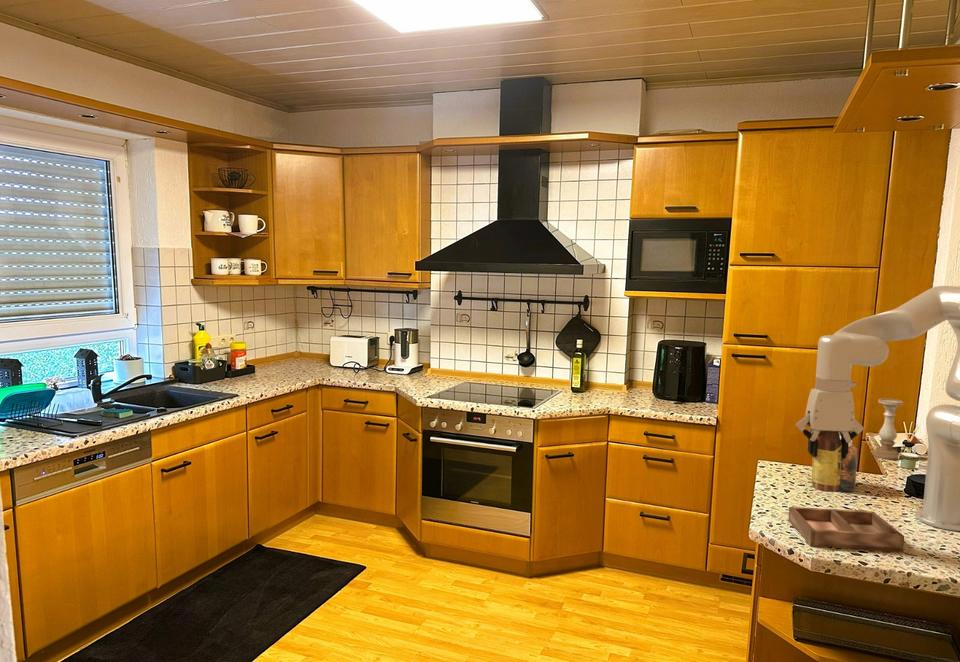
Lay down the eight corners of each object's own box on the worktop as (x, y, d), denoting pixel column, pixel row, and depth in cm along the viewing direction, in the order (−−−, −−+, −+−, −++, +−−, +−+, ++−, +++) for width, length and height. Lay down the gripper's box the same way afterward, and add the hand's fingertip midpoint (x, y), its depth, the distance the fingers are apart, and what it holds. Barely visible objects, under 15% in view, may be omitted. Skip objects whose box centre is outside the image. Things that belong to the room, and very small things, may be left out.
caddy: (872, 526, 166) (873, 511, 165) (902, 552, 151) (904, 536, 150) (788, 521, 168) (789, 506, 168) (809, 546, 153) (811, 530, 153)
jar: (813, 488, 193) (816, 441, 191) (809, 477, 203) (812, 431, 202) (857, 494, 188) (861, 445, 187) (851, 482, 199) (855, 435, 197)
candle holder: (867, 451, 232) (872, 397, 229) (894, 453, 230) (899, 398, 228) (877, 458, 223) (882, 402, 221) (905, 460, 221) (910, 404, 219)
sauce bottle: (843, 494, 155) (848, 415, 153) (815, 492, 156) (820, 413, 154) (833, 485, 161) (839, 409, 159) (807, 483, 163) (812, 407, 160)
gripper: (862, 383, 158) (857, 453, 160) (790, 381, 161) (785, 450, 163) (877, 389, 151) (871, 462, 153) (801, 387, 153) (796, 459, 155)
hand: (827, 455), depth 158 cm, fingers closed on sauce bottle, 6 cm apart
